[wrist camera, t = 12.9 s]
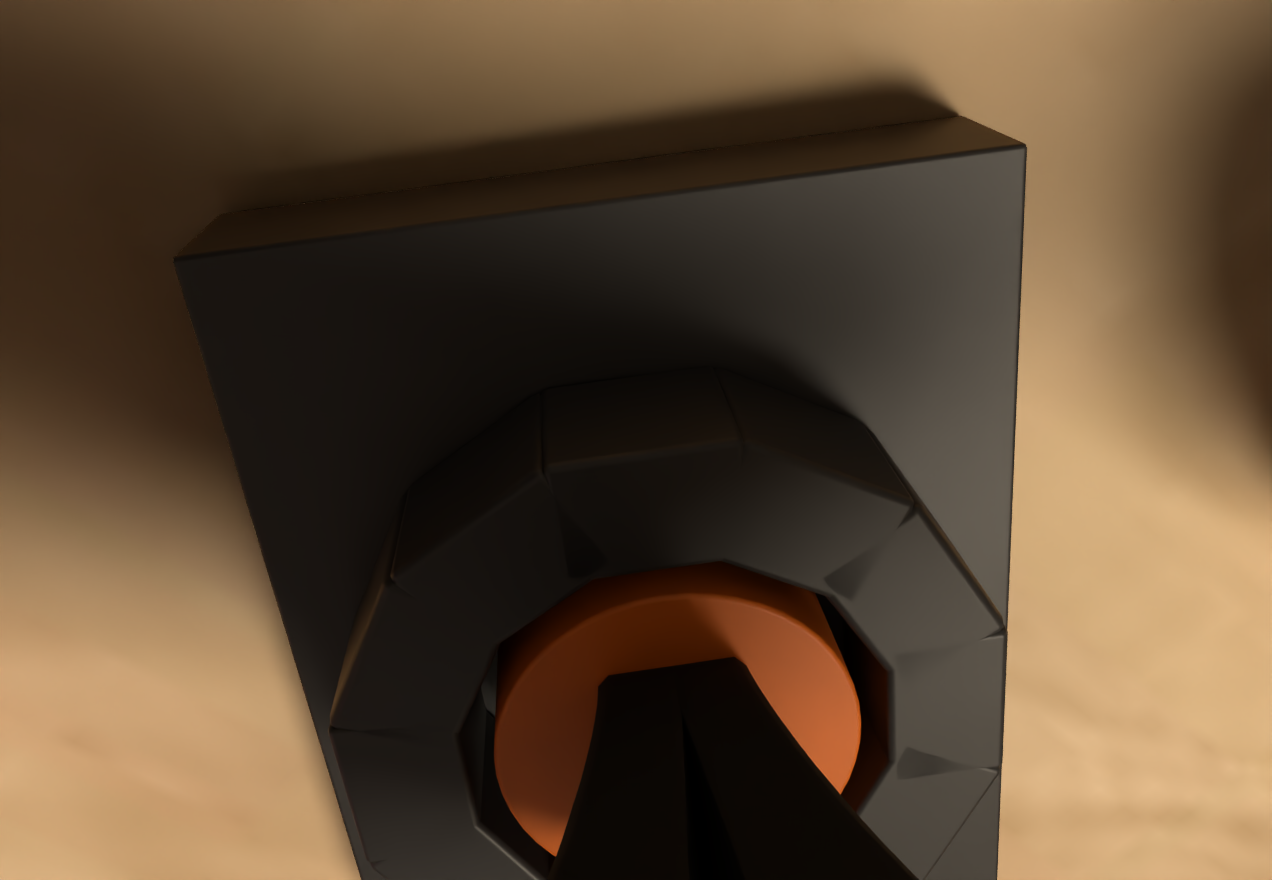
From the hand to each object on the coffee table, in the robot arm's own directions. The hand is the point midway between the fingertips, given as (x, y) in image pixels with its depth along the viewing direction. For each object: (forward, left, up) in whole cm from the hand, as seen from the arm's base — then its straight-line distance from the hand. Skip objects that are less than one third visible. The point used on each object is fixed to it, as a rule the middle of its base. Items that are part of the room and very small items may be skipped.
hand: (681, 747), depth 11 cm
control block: (0, 0, -3) cm, 3 cm away
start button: (0, 0, -2) cm, 2 cm away
